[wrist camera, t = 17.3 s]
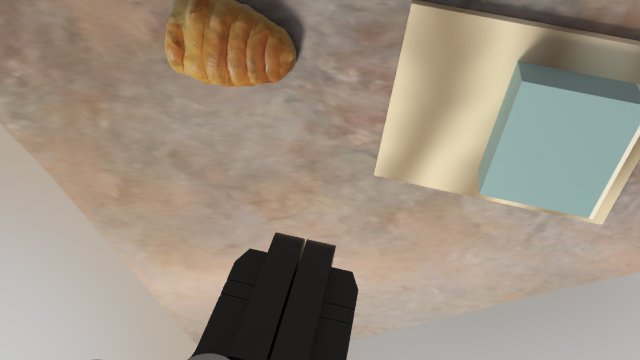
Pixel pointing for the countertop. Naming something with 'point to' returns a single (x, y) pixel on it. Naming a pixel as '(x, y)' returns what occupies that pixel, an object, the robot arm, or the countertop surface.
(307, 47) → the countertop surface
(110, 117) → the countertop surface
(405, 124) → the board
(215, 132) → the countertop surface
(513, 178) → the slab
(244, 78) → the pastry
